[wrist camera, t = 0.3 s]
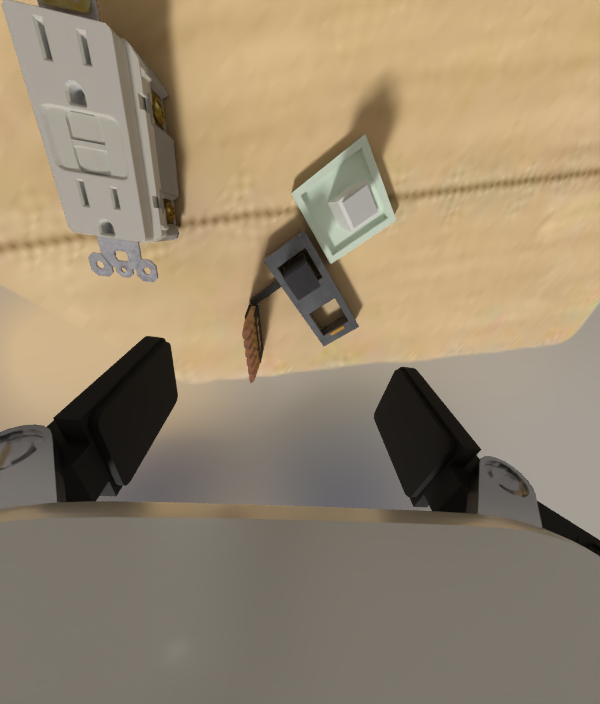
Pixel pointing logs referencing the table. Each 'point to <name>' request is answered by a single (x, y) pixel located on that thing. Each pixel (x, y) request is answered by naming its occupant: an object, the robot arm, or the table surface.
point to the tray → (331, 182)
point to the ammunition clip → (252, 340)
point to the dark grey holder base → (306, 286)
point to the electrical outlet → (99, 129)
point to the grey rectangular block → (354, 206)
